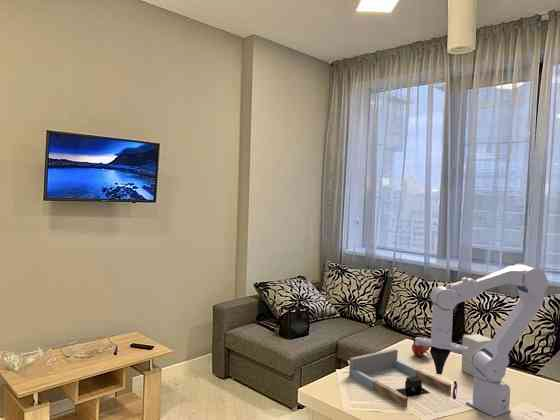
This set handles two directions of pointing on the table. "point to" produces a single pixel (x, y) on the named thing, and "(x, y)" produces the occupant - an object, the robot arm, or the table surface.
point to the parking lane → (385, 361)
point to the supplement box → (472, 350)
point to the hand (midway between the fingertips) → (439, 373)
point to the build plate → (412, 387)
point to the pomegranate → (419, 349)
